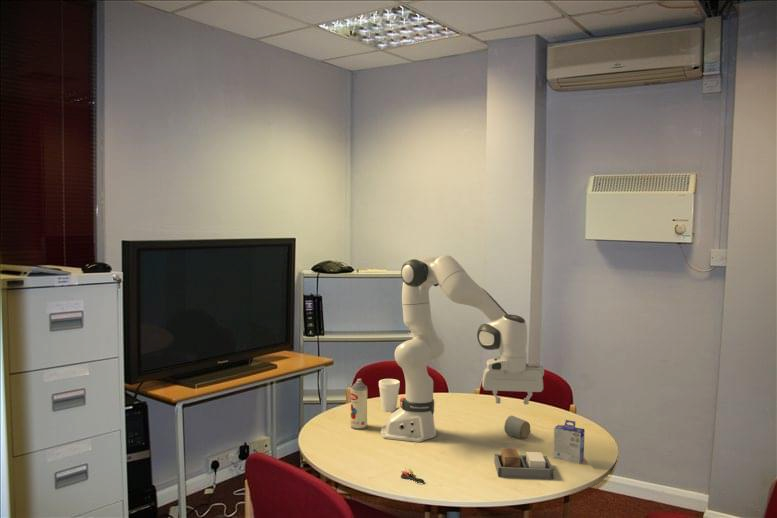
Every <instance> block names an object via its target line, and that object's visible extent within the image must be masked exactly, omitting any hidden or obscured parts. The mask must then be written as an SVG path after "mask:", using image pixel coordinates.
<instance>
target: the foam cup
mask: <svg viewBox="0 0 777 518" xmlns="http://www.w3.org/2000/svg"><path fill="white" fill-rule="evenodd" d="M400 383H401V382H400V380H398V379H394V378H384V379H380V380H379V381H378V388H379V397H380V404H381V411H383V412H384V413H386V412H387V413H393V412H395V411H396V410H397V405H398V400H399V397H398V396H399V392H400V386H401V385H400Z"/></svg>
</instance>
